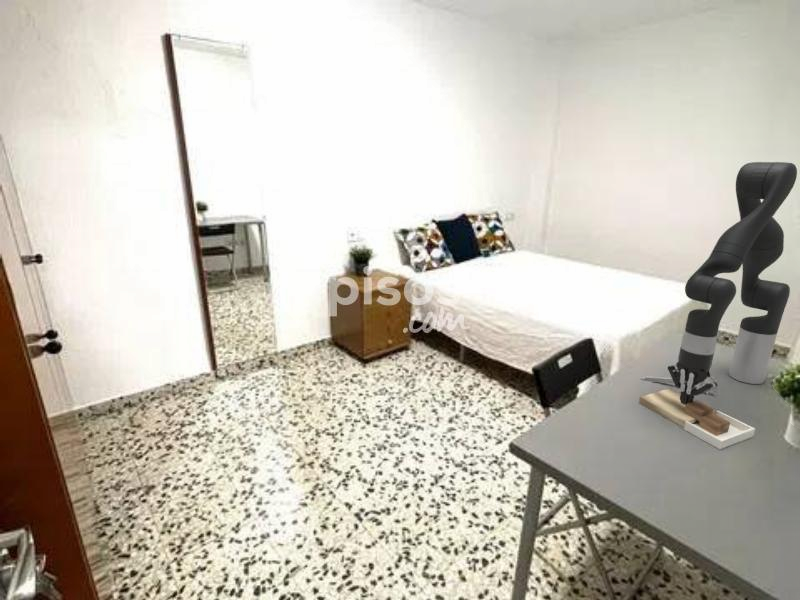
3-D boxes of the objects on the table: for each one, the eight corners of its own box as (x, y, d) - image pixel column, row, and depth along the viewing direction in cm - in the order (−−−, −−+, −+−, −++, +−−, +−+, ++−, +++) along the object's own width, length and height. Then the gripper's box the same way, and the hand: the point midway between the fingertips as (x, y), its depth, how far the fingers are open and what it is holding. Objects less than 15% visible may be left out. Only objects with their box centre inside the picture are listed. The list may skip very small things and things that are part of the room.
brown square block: (695, 409, 117) (697, 400, 116) (711, 417, 113) (713, 408, 112) (684, 413, 115) (686, 403, 114) (700, 421, 111) (702, 412, 110)
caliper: (715, 395, 128) (719, 377, 126) (715, 397, 127) (719, 378, 125) (640, 378, 139) (643, 362, 137) (639, 380, 138) (642, 363, 136)
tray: (716, 418, 116) (718, 410, 115) (753, 436, 108) (755, 428, 107) (683, 429, 112) (685, 421, 111) (719, 449, 103) (721, 441, 103)
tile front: (710, 422, 113) (712, 413, 112) (727, 431, 109) (730, 422, 108) (699, 426, 112) (701, 416, 111) (716, 435, 108) (718, 425, 107)
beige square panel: (667, 394, 129) (668, 388, 128) (713, 417, 116) (715, 411, 115) (639, 402, 124) (640, 396, 124) (684, 428, 112) (685, 421, 111)
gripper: (732, 355, 107) (718, 412, 112) (683, 337, 119) (672, 390, 124) (713, 360, 104) (699, 419, 110) (664, 341, 116) (654, 395, 122)
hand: (685, 403), depth 117 cm, fingers closed
